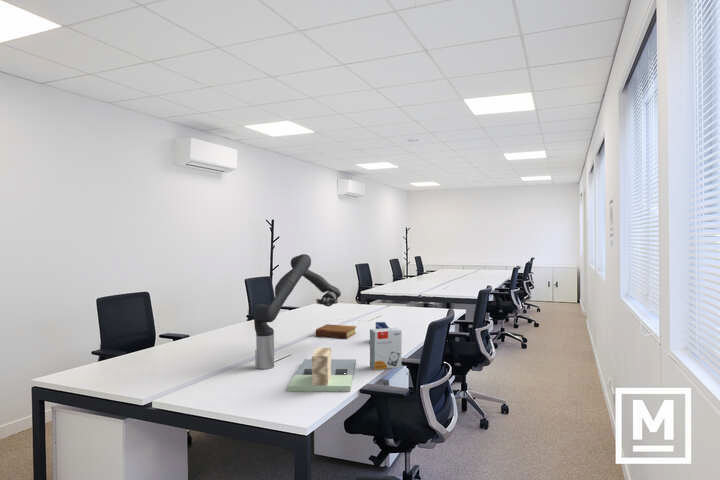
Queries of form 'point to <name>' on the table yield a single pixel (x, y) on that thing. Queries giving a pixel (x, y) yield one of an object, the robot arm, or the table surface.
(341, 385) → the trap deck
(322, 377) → the maple block
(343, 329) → the diary
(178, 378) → the table surface
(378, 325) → the phone stand
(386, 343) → the hard drive box
